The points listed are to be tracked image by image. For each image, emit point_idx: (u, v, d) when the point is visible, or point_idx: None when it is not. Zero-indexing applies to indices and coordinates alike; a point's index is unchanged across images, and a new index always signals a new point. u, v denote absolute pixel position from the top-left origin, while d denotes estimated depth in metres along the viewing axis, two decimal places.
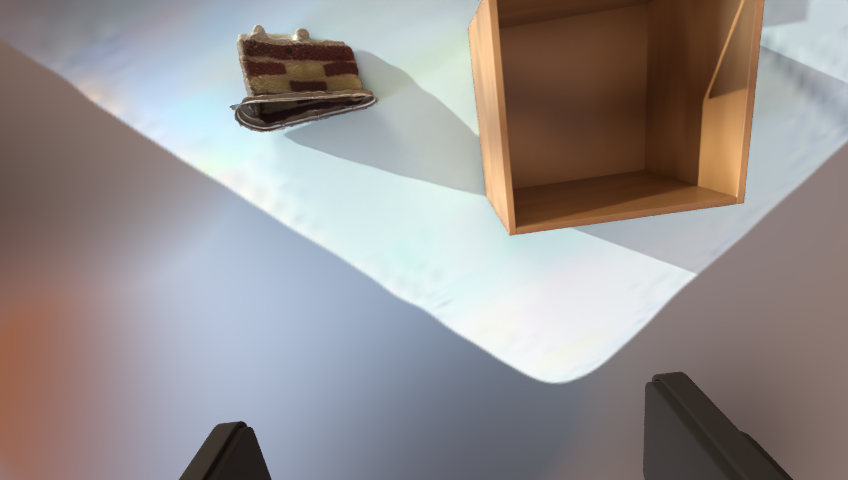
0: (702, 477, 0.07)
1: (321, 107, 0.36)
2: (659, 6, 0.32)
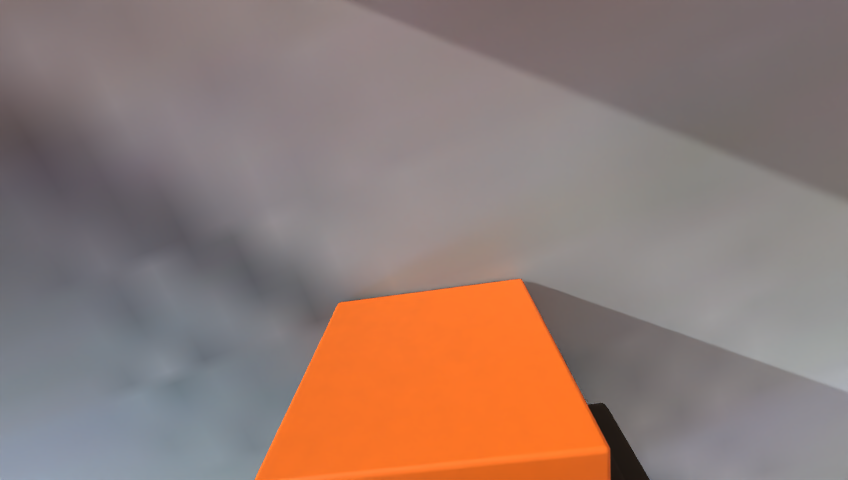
0: None
1: None
2: None
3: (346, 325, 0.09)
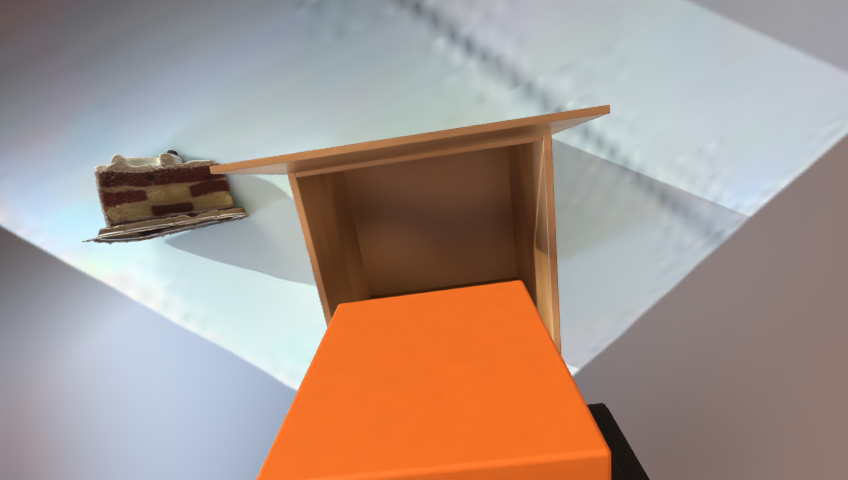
0: None
1: None
2: None
3: (346, 327, 0.09)
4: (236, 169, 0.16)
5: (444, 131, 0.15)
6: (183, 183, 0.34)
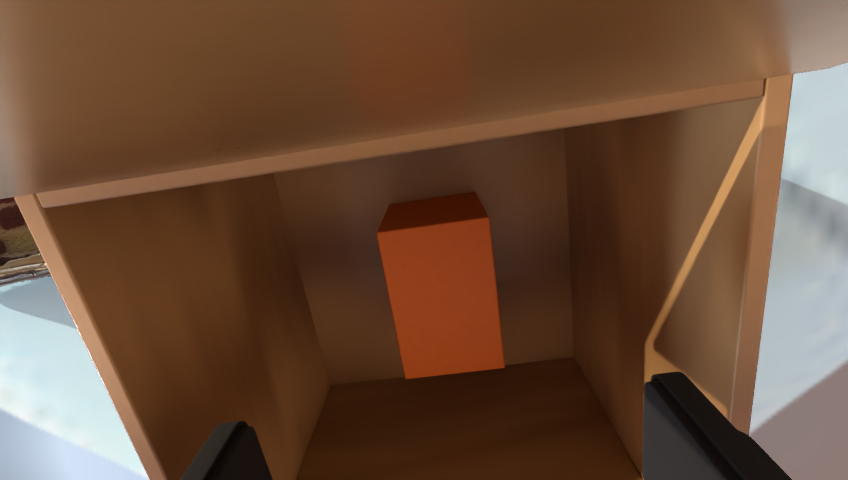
0: (700, 476, 0.07)
1: None
2: None
3: (395, 208, 0.19)
4: None
5: None
6: None
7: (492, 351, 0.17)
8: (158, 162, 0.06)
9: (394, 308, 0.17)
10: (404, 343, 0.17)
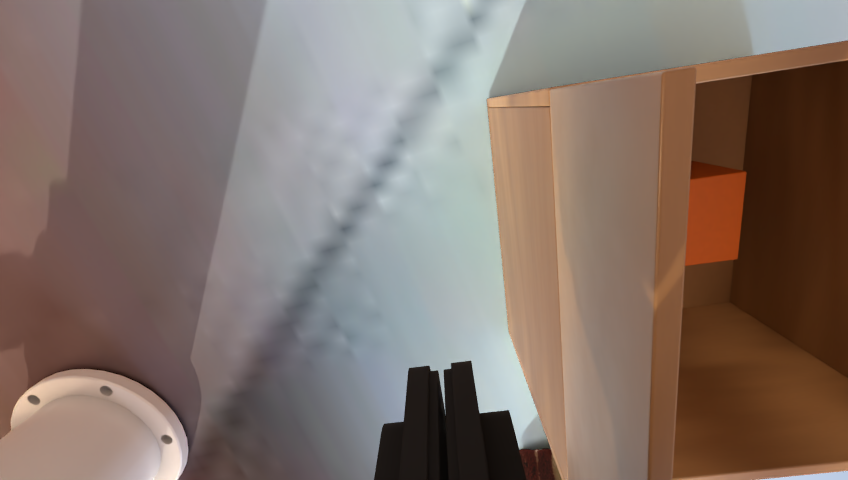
0: None
1: None
2: None
3: None
4: None
5: None
6: None
7: (725, 184, 0.19)
8: None
9: None
10: (700, 259, 0.20)
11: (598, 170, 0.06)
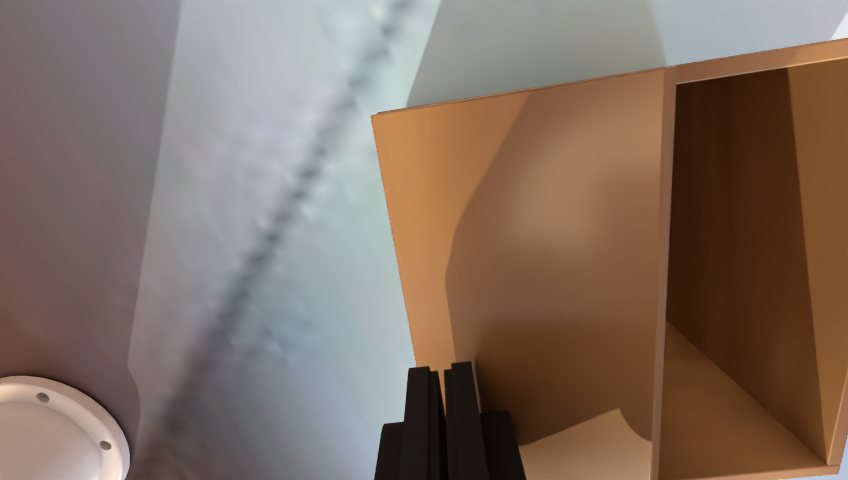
0: None
1: None
2: None
3: None
4: None
5: (651, 456, 0.07)
6: None
7: None
8: None
9: None
10: None
11: (520, 170, 0.07)
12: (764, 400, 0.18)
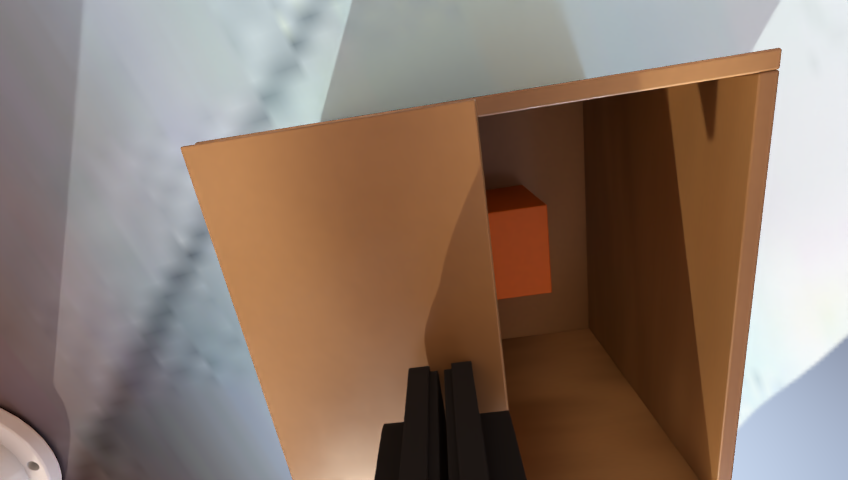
0: None
1: None
2: None
3: None
4: None
5: (500, 356, 0.10)
6: None
7: (527, 217, 0.18)
8: None
9: None
10: (513, 292, 0.19)
11: (377, 176, 0.09)
12: (667, 429, 0.17)
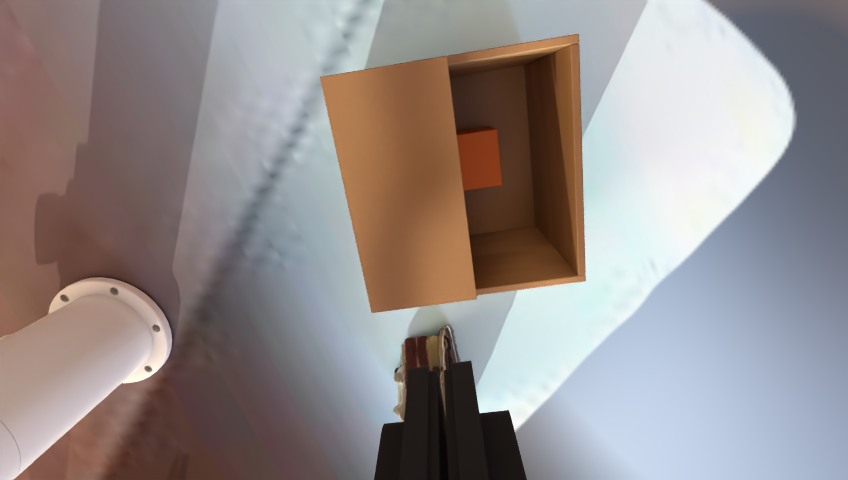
0: None
1: None
2: None
3: None
4: None
5: (459, 164, 0.24)
6: None
7: (485, 136, 0.31)
8: None
9: None
10: (479, 185, 0.32)
11: (409, 87, 0.23)
12: (564, 254, 0.30)
